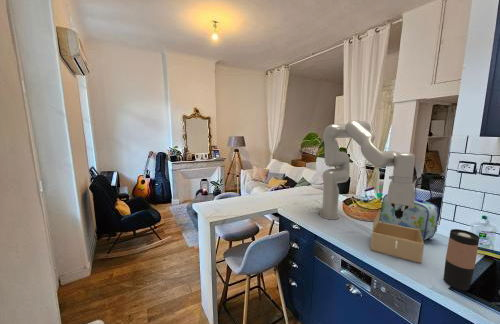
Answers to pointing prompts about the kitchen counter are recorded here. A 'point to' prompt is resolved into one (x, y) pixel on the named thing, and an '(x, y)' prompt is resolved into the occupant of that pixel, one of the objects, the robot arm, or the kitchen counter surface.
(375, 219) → the left flap
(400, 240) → the carton
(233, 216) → the kitchen counter surface
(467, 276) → the travel mug
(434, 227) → the lunch box
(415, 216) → the right flap
